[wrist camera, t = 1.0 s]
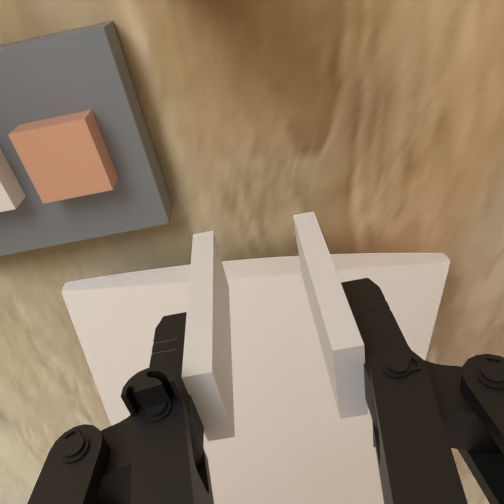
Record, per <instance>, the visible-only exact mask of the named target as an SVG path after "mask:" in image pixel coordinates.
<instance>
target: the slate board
mask: <svg viewBox="0 0 504 504" xmlns="http://www.w3.org/2000/svg"><path fill="white" fill-rule="evenodd" d="M87 110H92V111H93V114H94V116H95V119H96V121H97V124H98V127H99V129H100V132H101V134H102V137H103V140H104V142H105V145H106V147H107V150H108V152H109V155H110V158H111V160H112V163H113V165H114V168H115V171H116V173H117V176H118V179H117V182H116V184H115V186H114V189H113V190H110V191H105V192H100V193H95V194H90V195H85V196H80V197H75V198H69V199H64V200H59V201H54V202H49V203H44V204H43V202H42V200H41V198H40V196H39V194H38V193H37V191H36V189H35V187H34V185H33V183H32V181H31V179H30V177H29V175H28V173H27V171H26V169H25V167H24V165H23V163H22V161H21V159H20V157H19V155H18V153H17V151H16V149H15V147H14V146H13V144H12V142H11V140H10V138H9V136H8V134H9V133H11V132H12V131H13V130H14V129H15V128H16V127H17V126H19V125H20V124H25V123H29V122H34V121H39V120H44V119H49V118H54V117H58V116H63V115H68V114H73V113H78V112H83V111H87ZM0 148H1V150H2V152H3V154H4V156H5V158H6V160H7V162H8V163H9V165H10V167H11V169H12V171H13V173H14V175H15V177H16V178H17V180H18V182H19V184H20V186H21V188H22V190H23V192H24V194H25V195H26V197H25V198H24V199H23V200H22V202H21V203H20V204H19V205H18V207H17V208H16V209H14V210H9V211H4V212H0V256H4V255H9V254H14V253H20V252H25V251H30V250H35V249H40V248H45V247H51V246H56V245H61V244H66V243H71V242H76V241H82V240H87V239H92V238H97V237H102V236H107V235H113V234H118V233H123V232H128V231H133V230H139V229H144V228H149V227H154V226H159V225H164V224H169V222H170V217H171V211H172V202H171V199H170V196H169V193H168V190H167V187H166V184H165V181H164V178H163V175H162V171H161V168H160V165H159V162H158V159H157V156H156V153H155V150H154V147H153V144H152V140H151V137H150V134H149V131H148V128H147V125H146V122H145V119H144V116H143V112H142V109H141V106H140V103H139V100H138V97H137V94H136V91H135V88H134V85H133V81H132V78H131V75H130V72H129V69H128V66H127V63H126V60H125V57H124V54H123V50H122V47H121V44H120V41H119V38H118V35H117V32H116V29H115V26H114V23H113V21H111V22H107V23H102V24H97V25H93V26H88V27H83V28H79V29H74V30H70V31H65V32H60V33H56V34H51V35H46V36H42V37H37V38H33V39H28V40H23V41H19V42H14V43H9V44H5V45H0Z"/></svg>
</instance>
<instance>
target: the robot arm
mask: <svg viewBox="0 0 504 504" xmlns="http://www.w3.org/2000/svg"><path fill="white" fill-rule="evenodd" d="M293 219H294V226H295V233H296V240H297V246H298V253H299V260H300V267H301V273H302V277H303V281H304V285H305V289H306V292H307V296H308V300H309V304H310V307H311V311H312V315H313V319H314V322H315V326H316V330H317V334H318V337H319V341H320V345H321V349H322V352H323V356H324V360H325V364H326V367H327V371H328V375H329V379H330V382H331V386H332V390H333V394H334V397H335V401H336V405H337V409H338V412H339V416H340V419H343V418H349V417H355V416H361V415H367V414H368V408H369V411H370V414H371V417H372V425H373V447H375V448H376V455H377V461H378V467H379V474H380V480H381V487H382V493H383V499H384V504H468V503H467V500H466V497H465V493H464V490H463V487H462V484H461V480H460V477H459V474H458V470H457V467H456V464H455V460H454V457H453V454H452V451H451V448H455V449H458V451H459V452H460V454H461V456H462V457H463V459H464V461H465V462H466V464H467V466H468V467H469V469H470V471H471V472H472V474H473V476H474V477H475V479H476V481H477V482H478V484H479V486H480V487H481V489H482V491H483V493H484V494H485V496H486V498H487V499H488V501H489V503H490V504H504V358H503V357H501V356H496V355H491V354H483V355H476V356H474V357H472V358H470V359H468V360H467V361H466V363H465V364H464V365H463V367H458V366H447V365H439V364H434V363H431V362H428V361H425V360H424V359H422V358H421V357H420V356H418V355H417V354H416V353H414V352H413V351H412V350H411V349H410V347H409V346H408V344H407V342H406V340H405V338H404V336H403V334H402V332H401V330H400V328H399V325H398V323H397V321H396V319H395V317H394V315H393V313H392V311H391V310H390V307H389V305H388V303H387V301H386V300H385V297H384V295H383V293H382V291H381V289H380V287H379V286H378V285H377V284H375V283H374V282H373V281H372V280H370V279H369V278H363V279H357V280H352V281H346V282H340V280H339V277H338V274H337V272H336V269H335V266H334V264H333V261H332V258H331V256H330V253H329V251H328V248H327V245H326V243H325V240H324V237H323V235H322V232H321V229H320V227H319V224H318V221H317V219H316V216H315V214H314V211H313V212H307V213H302V214H297V215H293ZM153 343H154V344H153V346H152V355H151V359H150V365H149V368H146V369H144V370H142V371H140V372H137V373H136V374H135V375H134V376H132V377H131V378H130V379H129V380H128V381H127V383H126V384H125V385H124V387H123V389H122V393H121V398H122V400H123V402H124V404H125V405H126V407H127V409H128V411H129V413H130V414H131V415H130V416H129V417H127V418H126V419H124V420H122V421H121V422H119V423H117V424H115V425H112V426H110V427H108V428H106V429H104V430H102V431H100V430H99V429H98V428H96V427H95V426H93V425H85V424H84V425H80V426H76V427H74V428H72V429H70V430H68V431H67V432H65V433H64V434H63V435H62V436H61V437H60V438H59V439H58V440H56V442H55V443H54V445H53V447H52V448H51V450H50V452H49V454H48V456H47V459H46V461H45V463H44V466H43V468H42V471H41V473H40V475H39V478H38V480H37V482H36V485H35V487H34V490H33V492H32V494H31V497H30V499H29V501H28V504H214V500H213V493H212V486H211V479H210V472H209V465H208V458H207V456H206V453H205V450H204V448H203V444H204V433H205V436H206V438H207V440H208V441H213V440H219V439H225V438H231V437H235V430H234V404H233V378H232V352H231V326H230V301H229V286H228V282H227V279H226V275H225V271H224V267H223V264H222V260H221V256H220V253H219V249H218V245H217V242H216V238H215V234H214V231H208V232H203V233H198V234H193V242H192V254H191V266H190V279H189V291H188V303H187V312H183V313H178V314H172V315H167V316H163V318H162V319H161V321H160V322H159V324H158V325H157V327H156V328H155V334H154V340H153ZM367 405H368V408H367Z"/></svg>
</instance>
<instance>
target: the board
mask: <svg viewBox="0 0 504 504" xmlns="http://www.w3.org/2000/svg"><path fill="white" fill-rule="evenodd" d="M330 256H331V258H332V261H333V264H334V266H335V269H336V272H337V274H338V277H339V280H340V282H346V281H352V280H357V279H363V278H369V279H370V280H372V281H373V282H374V283H375V284H377V285H378V286H379V287H380V289H381V291H382V293H383V295H384V297H385V300H386V301H387V303H388V305H389V307H390V310H391V311H392V313H393V315H394V317H395V319H396V321H397V323H398V325H399V328H400V330H401V332H402V334H403V336H404V338H405V340H406V342H407V344H408V346H409V347H410V349H411V350H412V351H413V352H414V353H416V354H417V355H418V356H420V357H421V358H422V359H424V360H426V356H427V352H428V348H429V344H430V340H431V337H432V333H433V329H434V325H435V321H436V317H437V313H438V309H439V305H440V301H441V297H442V293H443V289H444V285H445V281H446V277H447V273H448V270H449V266H450V262H451V261H450V260H449V259H448V257H447V256H446V255H445V254H444V253H353V254H330ZM222 264H223V267H224V271H225V275H226V279H227V282H228V286H229V301H230V326H231V352H232V378H233V404H234V430H235V437H231V438H225V439H219V440H213V441H208V440H207V438H206V436H205V433H204V444H203V448H204V450H205V453H206V456H207V458H208V465H209V472H210V479H211V486H212V493H213V500H214V504H384V499H383V493H382V487H381V480H380V474H379V467H378V461H377V455H376V448H375V447H373V425H372V417H371V414H370V411H369V408H368V405H367V408H368V414H367V415H361V416H355V417H349V418H343V419H340V416H339V412H338V409H337V405H336V401H335V397H334V394H333V390H332V386H331V382H330V379H329V375H328V371H327V367H326V364H325V360H324V356H323V352H322V349H321V345H320V341H319V337H318V334H317V330H316V326H315V322H314V319H313V315H312V311H311V307H310V304H309V300H308V296H307V292H306V289H305V285H304V281H303V277H302V273H301V267H300V260H299V256H285V257H270V258H256V259H243V260H232V261H222ZM190 266H191V265H183V266H174V267H166V268H158V269H150V270H142V271H135V272H128V273H121V274H114V275H107V276H101V277H94V278H88V279H82V280H76V281H70V282H65V285H64V287H63V289H62V291H61V293H62V295H63V298H64V301H65V303H66V306H67V309H68V311H69V314H70V317H71V319H72V322H73V325H74V327H75V330H76V333H77V335H78V338H79V341H80V343H81V346H82V349H83V352H84V354H85V357H86V360H87V362H88V365H89V368H90V370H91V373H92V376H93V378H94V381H95V384H96V386H97V389H98V392H99V394H100V397H101V400H102V402H103V405H104V408H105V410H106V413H107V416H108V419H109V421H110V424H111V426H112V425H115V424H117V423H119V422H121V421H122V420H124V419H126V418H127V417H129V416H130V415H131V414H130V413H129V411H128V409H127V407H126V405H125V404H124V402H123V400H122V398H121V393H122V389H123V387H124V385H125V384H126V383H127V381H128V380H129V379H130V378H131V377H132V376H134V375H135V374H136V373H137V372H140V371H142V370H144V369H146V368H149V365H150V359H151V355H152V346H153V344H154V343H153V340H154V334H155V328H156V327H157V325H158V324H159V322H160V321H161V319H162V318H163V316H167V315H172V314H178V313H183V312H187V303H188V291H189V279H190Z"/></svg>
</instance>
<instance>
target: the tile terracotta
mask: <svg viewBox="0 0 504 504" xmlns="http://www.w3.org/2000/svg"><path fill="white" fill-rule="evenodd" d="M8 136H9V138H10V140H11V142H12V144H13V146H14V147H15V149H16V151H17V153H18V155H19V157H20V159H21V161H22V163H23V165H24V167H25V169H26V171H27V173H28V175H29V177H30V179H31V181H32V183H33V185H34V187H35V189H36V191H37V193H38V194H39V196H40V198H41V200H42V202H43V204H44V203H49V202H54V201H59V200H64V199H69V198H75V197H80V196H85V195H90V194H95V193H100V192H105V191H110V190H113V189H114V186H115V184H116V182H117V179H118V176H117V173H116V171H115V168H114V165H113V163H112V160H111V158H110V155H109V152H108V150H107V147H106V145H105V142H104V140H103V137H102V134H101V132H100V129H99V127H98V124H97V121H96V119H95V116H94V114H93V111H92V110H87V111H83V112H78V113H73V114H68V115H63V116H58V117H54V118H49V119H44V120H39V121H34V122H29V123H25V124H20V125H19V126H17V127H16V128H15V129H14V130H13V131H12V132H11V133H9V134H8Z"/></svg>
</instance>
